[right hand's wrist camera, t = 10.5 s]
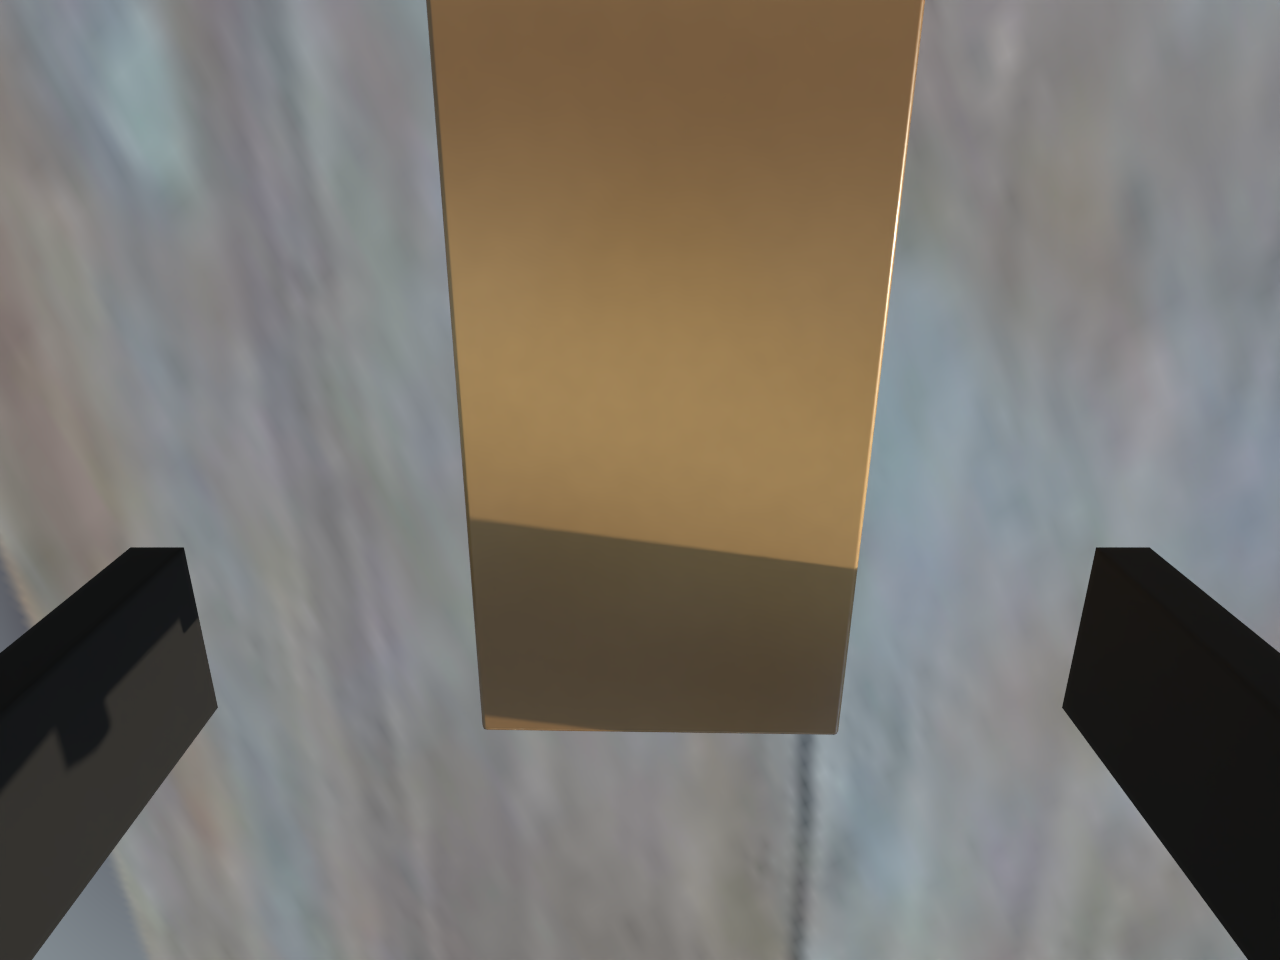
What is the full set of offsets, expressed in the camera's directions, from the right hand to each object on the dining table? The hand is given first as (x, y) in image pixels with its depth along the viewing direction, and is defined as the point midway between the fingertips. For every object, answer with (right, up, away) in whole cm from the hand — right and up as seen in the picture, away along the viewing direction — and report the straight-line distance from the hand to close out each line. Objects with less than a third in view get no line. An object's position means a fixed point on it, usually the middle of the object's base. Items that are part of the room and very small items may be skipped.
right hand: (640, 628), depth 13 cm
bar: (0, +14, +1) cm, 14 cm away
